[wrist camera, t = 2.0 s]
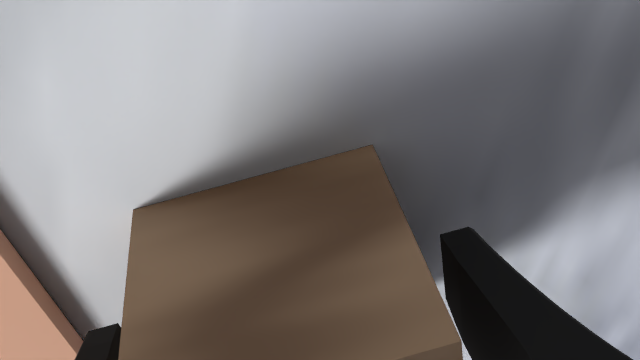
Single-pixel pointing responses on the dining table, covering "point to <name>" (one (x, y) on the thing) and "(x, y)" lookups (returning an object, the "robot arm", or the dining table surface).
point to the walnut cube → (284, 272)
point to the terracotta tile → (30, 315)
